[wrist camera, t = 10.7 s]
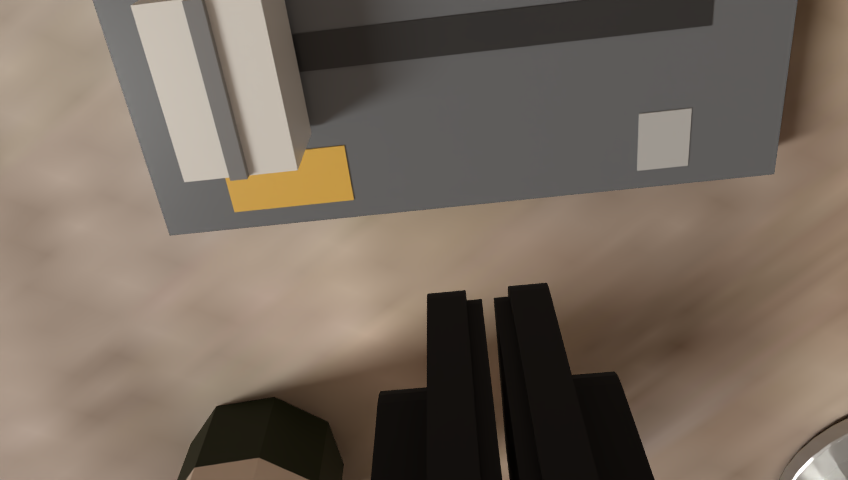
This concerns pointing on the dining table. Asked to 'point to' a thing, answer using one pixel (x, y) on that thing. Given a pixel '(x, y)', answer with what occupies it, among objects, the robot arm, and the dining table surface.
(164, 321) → the dining table surface
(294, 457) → the wine bottle
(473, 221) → the dining table surface
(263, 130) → the fader knob
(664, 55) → the fader console
